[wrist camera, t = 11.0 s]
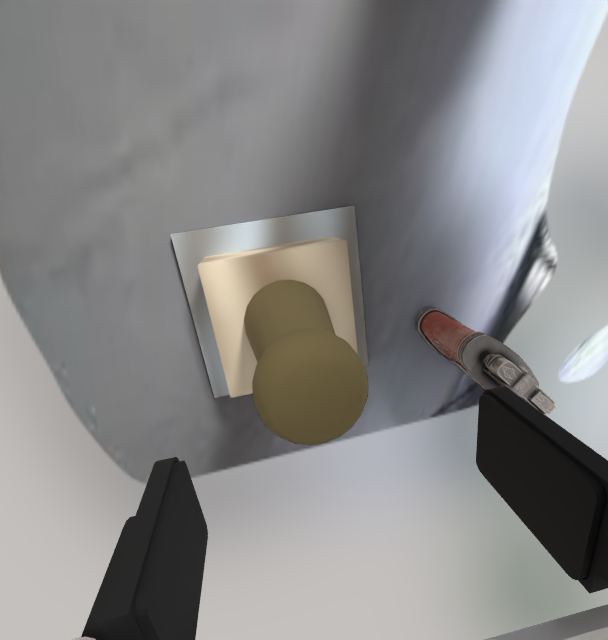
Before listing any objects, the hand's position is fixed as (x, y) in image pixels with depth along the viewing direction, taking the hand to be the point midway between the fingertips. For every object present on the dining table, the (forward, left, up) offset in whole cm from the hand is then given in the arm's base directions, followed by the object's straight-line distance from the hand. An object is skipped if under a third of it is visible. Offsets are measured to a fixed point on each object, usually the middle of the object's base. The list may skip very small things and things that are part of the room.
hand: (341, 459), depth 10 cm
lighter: (-15, +6, -19) cm, 25 cm away
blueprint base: (0, 0, -19) cm, 19 cm away
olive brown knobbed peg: (0, 0, -15) cm, 15 cm away
